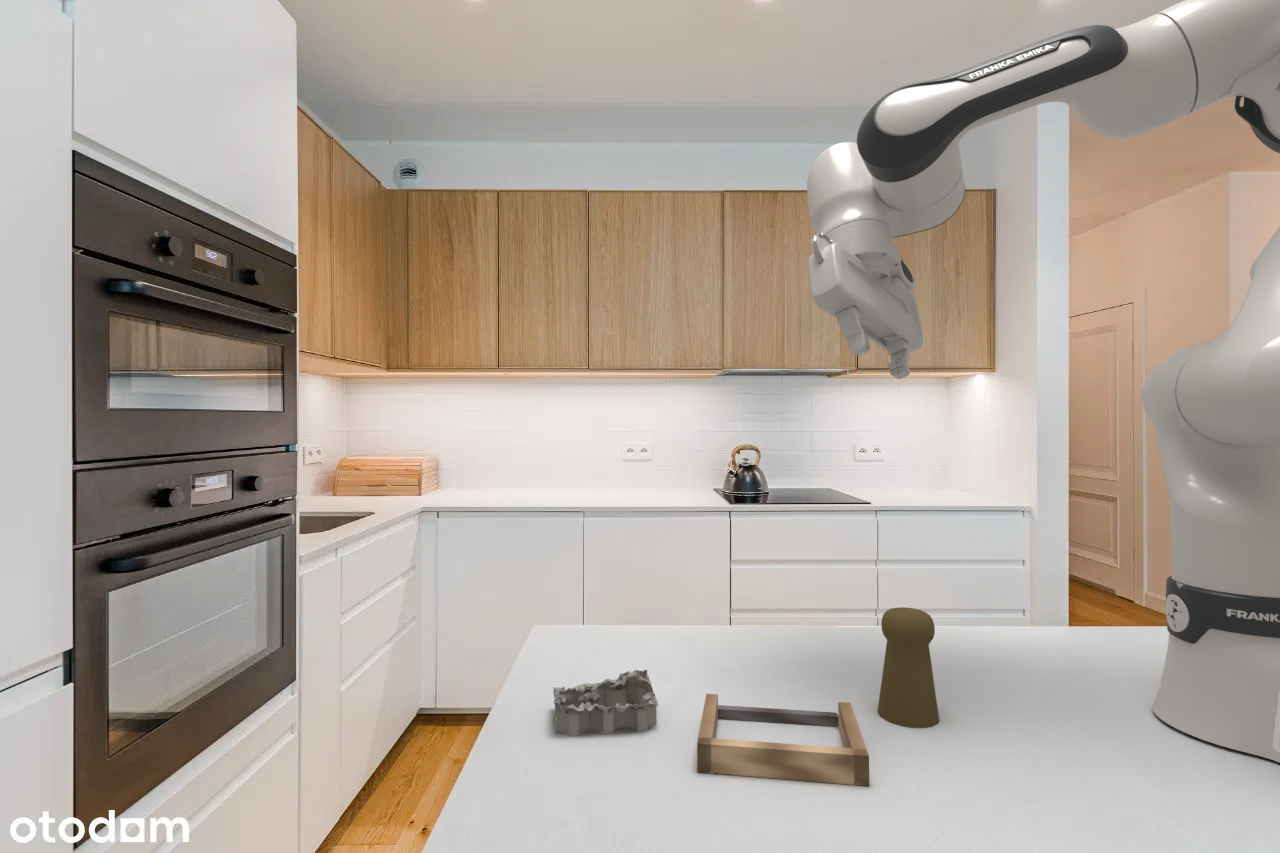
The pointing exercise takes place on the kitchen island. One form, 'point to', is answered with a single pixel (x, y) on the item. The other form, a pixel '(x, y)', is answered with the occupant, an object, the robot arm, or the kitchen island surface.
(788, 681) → the kitchen island surface
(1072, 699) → the kitchen island surface
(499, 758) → the kitchen island surface
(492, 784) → the kitchen island surface
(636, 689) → the egg carton
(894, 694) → the cork
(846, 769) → the bay
